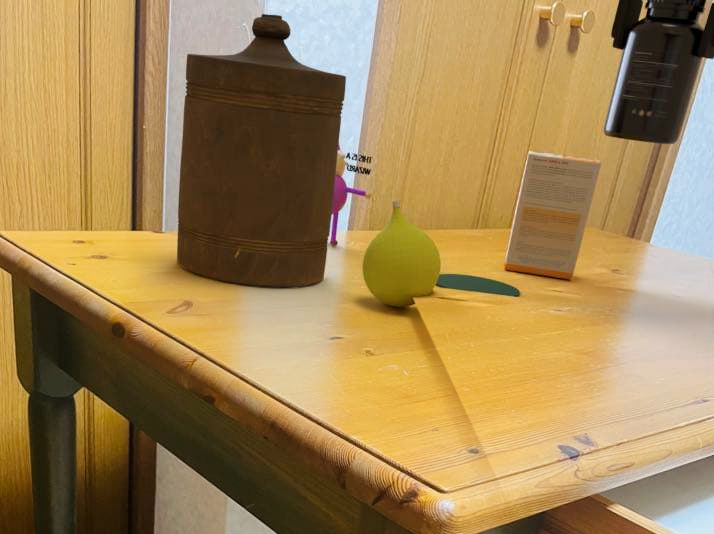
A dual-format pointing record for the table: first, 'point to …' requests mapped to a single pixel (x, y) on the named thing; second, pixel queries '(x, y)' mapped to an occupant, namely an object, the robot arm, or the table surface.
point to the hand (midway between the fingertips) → (662, 51)
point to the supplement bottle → (657, 73)
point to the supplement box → (551, 214)
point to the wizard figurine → (344, 188)
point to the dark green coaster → (476, 284)
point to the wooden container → (258, 163)
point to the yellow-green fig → (401, 262)
